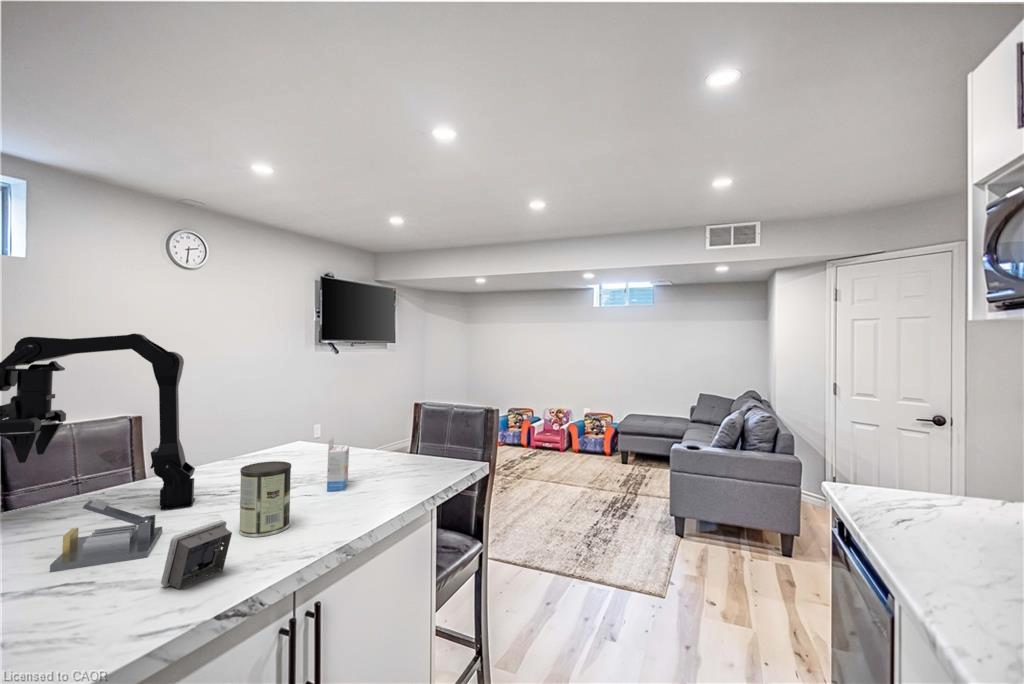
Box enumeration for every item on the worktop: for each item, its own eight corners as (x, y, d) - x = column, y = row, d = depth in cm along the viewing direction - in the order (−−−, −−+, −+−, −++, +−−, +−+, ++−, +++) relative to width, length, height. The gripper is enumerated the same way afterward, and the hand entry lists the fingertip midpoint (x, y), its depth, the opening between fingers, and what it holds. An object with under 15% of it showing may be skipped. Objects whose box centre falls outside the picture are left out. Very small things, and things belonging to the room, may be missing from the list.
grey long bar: (150, 525, 96) (155, 517, 97) (146, 529, 94) (152, 521, 94) (86, 505, 92) (91, 497, 92) (81, 509, 89) (86, 501, 90)
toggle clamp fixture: (162, 532, 102) (163, 508, 102) (147, 557, 90) (148, 530, 90) (78, 543, 95) (79, 517, 96) (49, 572, 83) (51, 542, 83)
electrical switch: (213, 565, 87) (218, 516, 87) (232, 573, 85) (237, 523, 85) (159, 588, 78) (164, 534, 78) (179, 597, 76) (184, 542, 76)
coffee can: (265, 518, 112) (267, 459, 112) (299, 523, 108) (301, 463, 109) (227, 533, 102) (229, 469, 102) (263, 540, 98) (265, 473, 99)
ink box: (344, 491, 134) (346, 440, 134) (326, 492, 133) (327, 440, 133) (348, 483, 142) (349, 435, 143) (331, 483, 141) (332, 435, 142)
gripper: (6, 388, 112) (3, 453, 111) (-40, 395, 95) (-43, 471, 95) (68, 387, 117) (65, 449, 117) (34, 393, 100) (31, 466, 100)
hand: (31, 458), depth 107 cm, fingers open, 9 cm apart
